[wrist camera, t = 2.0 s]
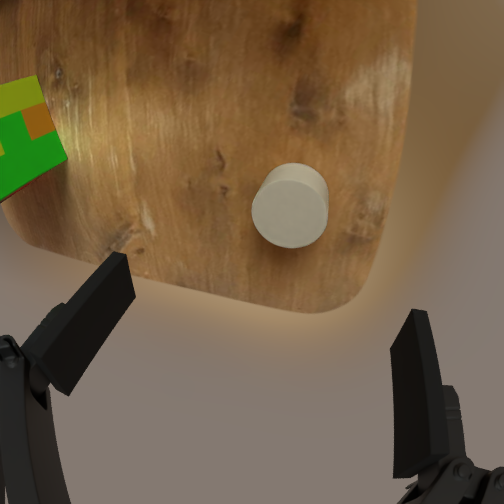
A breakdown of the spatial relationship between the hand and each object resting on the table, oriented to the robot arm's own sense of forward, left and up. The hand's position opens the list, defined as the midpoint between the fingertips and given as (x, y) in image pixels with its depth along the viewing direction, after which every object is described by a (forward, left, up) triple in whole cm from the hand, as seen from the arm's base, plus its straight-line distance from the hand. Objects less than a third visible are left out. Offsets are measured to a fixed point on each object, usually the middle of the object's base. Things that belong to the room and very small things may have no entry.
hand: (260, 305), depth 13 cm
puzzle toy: (+28, -4, -12) cm, 31 cm away
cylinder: (0, 0, -12) cm, 12 cm away
